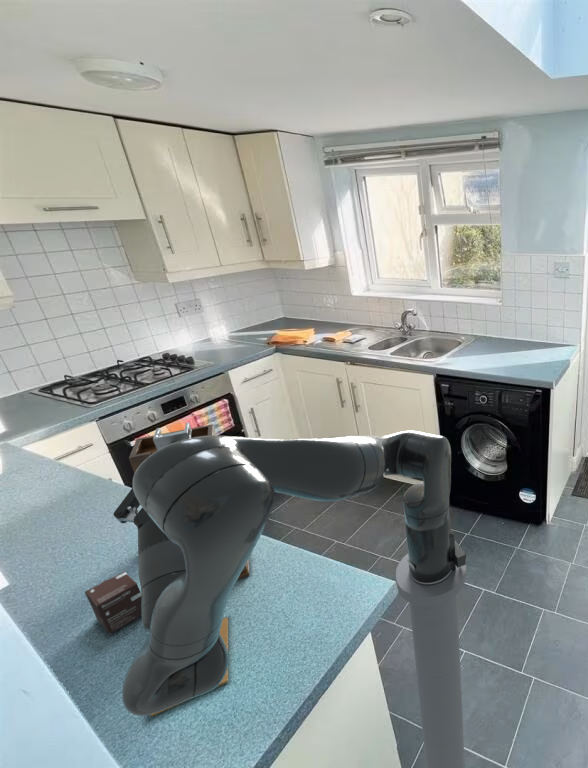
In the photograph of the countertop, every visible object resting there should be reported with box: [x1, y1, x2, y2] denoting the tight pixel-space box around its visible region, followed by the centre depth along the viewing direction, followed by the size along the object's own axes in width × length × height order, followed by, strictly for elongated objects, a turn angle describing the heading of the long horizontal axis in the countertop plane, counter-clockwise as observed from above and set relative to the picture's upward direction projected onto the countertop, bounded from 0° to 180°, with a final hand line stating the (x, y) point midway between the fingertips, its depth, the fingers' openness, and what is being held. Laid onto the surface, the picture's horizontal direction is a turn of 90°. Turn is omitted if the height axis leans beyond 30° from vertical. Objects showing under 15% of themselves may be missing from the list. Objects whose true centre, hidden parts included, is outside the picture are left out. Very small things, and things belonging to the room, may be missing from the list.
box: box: [84, 571, 142, 635], centre depth 80 cm, size 6×6×7 cm
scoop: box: [153, 421, 193, 451], centre depth 74 cm, size 5×18×3 cm, turn 32°
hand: (166, 456), depth 71 cm, fingers closed on scoop, 1 cm apart
